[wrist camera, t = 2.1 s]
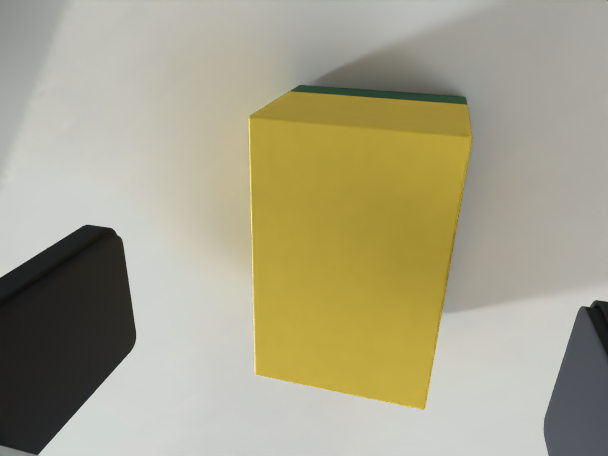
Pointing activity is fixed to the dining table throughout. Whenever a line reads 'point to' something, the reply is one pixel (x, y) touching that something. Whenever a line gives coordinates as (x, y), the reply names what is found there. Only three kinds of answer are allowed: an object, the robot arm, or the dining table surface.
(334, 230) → the sponge
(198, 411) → the dining table surface
